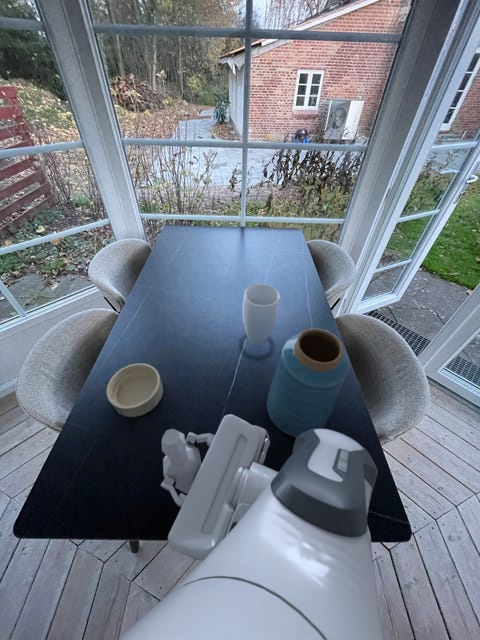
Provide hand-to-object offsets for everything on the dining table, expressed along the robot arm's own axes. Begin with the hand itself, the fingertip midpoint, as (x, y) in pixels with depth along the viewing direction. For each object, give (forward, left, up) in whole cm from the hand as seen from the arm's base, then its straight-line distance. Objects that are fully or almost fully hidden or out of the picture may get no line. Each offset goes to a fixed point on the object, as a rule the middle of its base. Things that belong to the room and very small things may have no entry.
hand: (176, 458), depth 44 cm
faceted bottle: (0, -1, -12) cm, 12 cm away
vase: (+27, -17, -19) cm, 37 cm away
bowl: (+14, +24, -19) cm, 33 cm away
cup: (+43, 0, -19) cm, 47 cm away
